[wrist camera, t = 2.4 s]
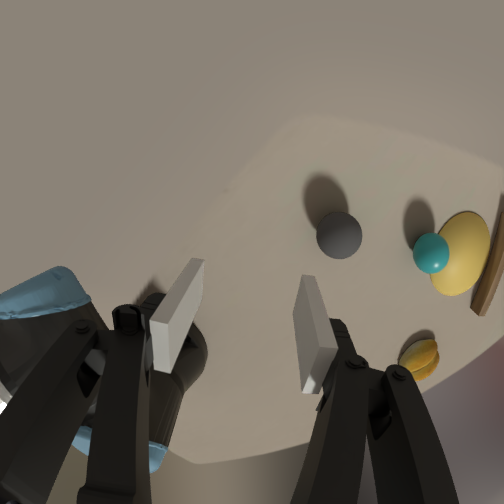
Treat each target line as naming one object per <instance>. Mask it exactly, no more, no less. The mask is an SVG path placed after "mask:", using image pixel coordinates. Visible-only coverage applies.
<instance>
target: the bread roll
mask: <svg viewBox="0 0 504 504" xmlns="http://www.w3.org/2000/svg"><path fill="white" fill-rule="evenodd" d="M438 362H439V353H438V351H437V343H436V341H435V340H433V339H427V340H419V341H417V342H415V343H413V344H412V345H411V346H410V347H409V348H407V350H406V351H405V352H404V354H403V355H402V357H401V358H400V361H399V365H401V366H403V367H405V368H407V369H408V370H409V371H410V372H411V374H412V375H413V378H414V380H415V381H419V380H422V379H424V378H426V377H428V376H429V375H430V374H431V373H432V372H433V371H434V370H435V368H436V367H437V365H438Z"/></svg>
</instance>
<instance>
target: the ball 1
mask: <svg viewBox="0 0 504 504" xmlns="http://www.w3.org/2000/svg"><path fill="white" fill-rule="evenodd" d="M316 238H317V243H318V245H319V247H320V249H321V250H322V251H323V252H324V253H325V254H326V255H327V256H329V257H331V258H335V259H345V258H348V257H350V256H352V255H353V254H354V253H355V252H356V251H357V250H358V248H359V247H360V245H361V242H362V230H361V227H360V225H359V223H358V221H357V220H356V219H355V218H354V217H353V216H351V215H349V214H347V213H344V212H335V213H331V214H329V215H327V216H326V217H324V218H323V219H322V221H321V222H320V224H319V225H318V228H317V233H316Z"/></svg>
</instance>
